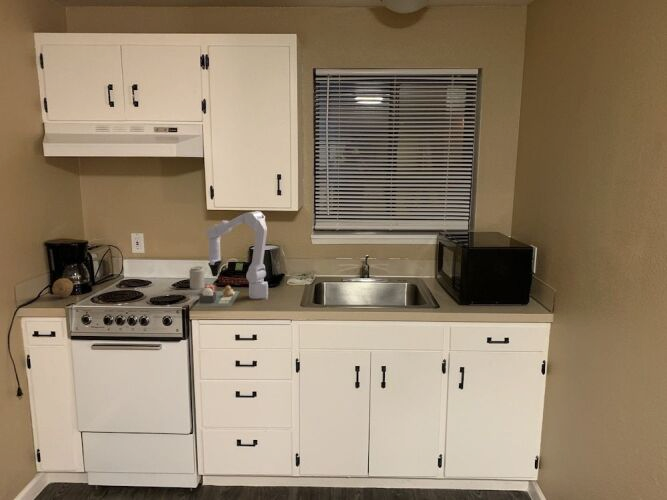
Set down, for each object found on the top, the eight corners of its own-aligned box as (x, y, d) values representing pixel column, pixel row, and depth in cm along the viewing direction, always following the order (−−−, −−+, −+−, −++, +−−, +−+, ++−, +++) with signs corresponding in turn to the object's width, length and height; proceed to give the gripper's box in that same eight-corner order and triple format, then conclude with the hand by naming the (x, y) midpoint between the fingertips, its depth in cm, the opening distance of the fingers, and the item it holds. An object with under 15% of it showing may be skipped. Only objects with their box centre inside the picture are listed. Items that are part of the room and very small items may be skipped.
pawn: (233, 294, 240) (233, 284, 239) (232, 297, 235) (232, 286, 234) (224, 294, 240) (223, 284, 239) (222, 297, 235) (221, 286, 234)
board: (239, 293, 246) (239, 284, 245) (231, 307, 221) (230, 298, 220) (207, 292, 245) (206, 284, 245) (194, 307, 220) (194, 298, 219)
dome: (214, 296, 230) (214, 286, 229) (212, 299, 225) (211, 289, 224) (204, 296, 230) (203, 286, 229) (201, 299, 225) (201, 289, 224)
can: (190, 291, 248) (190, 269, 246) (189, 287, 255) (188, 266, 253) (205, 290, 251) (204, 268, 249) (203, 286, 258) (202, 265, 256)
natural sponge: (60, 301, 226) (59, 281, 224) (48, 299, 229) (46, 279, 228) (77, 296, 234) (76, 277, 232) (66, 294, 237) (64, 275, 236)
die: (214, 292, 242) (214, 284, 242) (212, 294, 239) (212, 286, 238) (206, 292, 242) (206, 284, 241) (204, 294, 238) (204, 286, 238)
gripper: (209, 247, 248) (210, 272, 251) (203, 252, 234) (204, 278, 237) (223, 247, 249) (223, 272, 251) (217, 252, 235) (218, 278, 237)
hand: (215, 275), depth 244 cm, fingers closed
